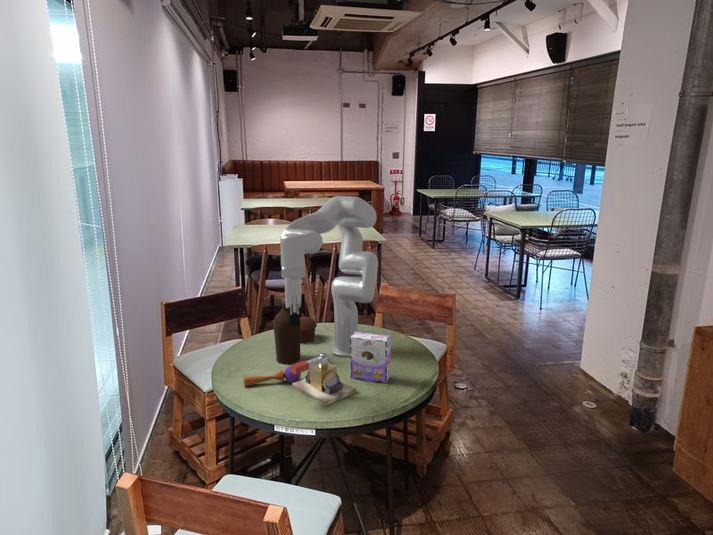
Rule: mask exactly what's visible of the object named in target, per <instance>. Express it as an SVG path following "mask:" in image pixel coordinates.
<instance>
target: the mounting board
mask: <svg viewBox="0 0 713 535" xmlns="http://www.w3.org/2000/svg"><path fill="white" fill-rule="evenodd" d="M340 382H342V383H343V389H342V390H340V391H338V392H335V393H333V394H331V395H328V394H326V392H325V391H323V392H321V391H319V390H317V389H315V388H313V387H311V385H310V384H308V383H306V382H305V377H304V378H303V379H299V380H298V381H296V382H293V383H291V387H292V388H293V389H294V390H296V391H297V392H300V393H301V394H303V395H305V396H306V397H308V398H309V399H312V400H313V399H314V400H313V401H315V400H316V401H315V402H317V403H318V402H319V403H318V404H320V403H321V404H320V405H322V404H323V405H322V406H324V407H326V405H327V406H329V405H331V404H333V403H336V402H337V400H338V401H340V400H342V399H344V398H346V397H349V396H350V395H352V394H355V393H356V392H357V387H356V386H353V385H351V384H349V383H348V382H346V381H344V380H341V379H340ZM354 392H355V393H354ZM349 394H350V395H349ZM345 396H346V397H345ZM343 397H344V398H343ZM341 398H342V399H341ZM339 399H340V400H339ZM330 403H331V404H330ZM328 404H329V405H328Z"/></svg>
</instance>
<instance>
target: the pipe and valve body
mask: <svg viewBox="0 0 713 535" xmlns="http://www.w3.org/2000/svg"><path fill="white" fill-rule="evenodd" d="M337 369H338V368H337V366H336V365H334V364H331V363H330V362H328V367H326V368H320V367H319V364H318V365H315V366H312V367H310V368H309V370H307V374H306V375H305V376H304V378H305V382H306V383H308V384H310V385H311V387H313V388H315V389H317V390H319V391H321V392H323V391H325V392H326V394H328V395H331V394H333V393H335V392H338V391H340V390H342V389H343V383H342V382H340V380H341V379H340V376H339V374H338V370H337Z"/></svg>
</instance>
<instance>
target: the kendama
mask: <svg viewBox="0 0 713 535" xmlns="http://www.w3.org/2000/svg"><path fill="white" fill-rule="evenodd" d="M290 366H291V365H289V366H287V367H286V368H285V369H284V370H283V369H281V370H279V371H278V372H276V373H275V374H274V375H262V376H244V377H243V385H244V387H249V386H250V387H251V386H252V385H253V386H254V385H257V384H260V383H264V382H268V381H270V380H278V381H281V382H285V381H287V382H289V383H291V384H292V383H295V382H297V381H299V380H300V378H301V376H302V372H301V373H298V374H296V375H295V374H294V373H292V372H290Z"/></svg>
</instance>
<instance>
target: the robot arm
mask: <svg viewBox="0 0 713 535" xmlns="http://www.w3.org/2000/svg"><path fill="white" fill-rule="evenodd" d="M377 218H378V216H377V211H376V210H375V208H374V207H373V206H372V205H371V204H370V203H368V202H367V201H366V200H365V199H362V198H361V197H358V196H350V195H349V196H348V195H346V196H345V195H336V196H335V195H334V196H333V197H331V198H330V199H328V200H327V201H326V202H325V203H324V204H323V205H322V206H321V207H320V208H319V209H318V210H317V211H316V212H313V213H310V214H307V215H305V216H301V217H299V218H297V219H295V220H293V221H292V222H290V223H289V224H288V225H287V226H286V227H285V228H284V229H283V231H282V233H281V235H280V238H279V242H280V244H279V245H280V267H281V268H280V269H281V270H280V272H281V278H283V279H284V295H285V296H284V297H285V298H284V299H285V301H286V308H288V307H290V326H299V325H300V317H301V316H300V310H299V309H300V308H301V307H302V278H305V276H306V273H305V272H306V271H305V269H306V267H305V255H306V254H314V253H317V252H318V251H320V250H321V247H322V246H323V236H322V235H321V234H326V233H330V232H331V231H333V230H334V229H335V228H336V227H337V226H338V228H339V231H340V235H341V245H340V249H339V250H340V252H339V258H338V270H339V271H341V272H342V273H344V274H350V275H358V276H359V275H360V276H362V278H359V277H353V276H337V277H335V278H334V279H333V280H332V282H331V287H330V288H331V295H332V296H331V297H332V300H333V301H332V302H333V309H334V310H333V312H334V315H333V316H334V318H333V319H334V321H333V322H334V344H333V345H332V346H331V348H330V350H331V351H330V352H331V353H332V354H333V355H335V356H337V357H341V358H342V357H348V358H349V357H350V337H351V336H352V335H353V334H354V332H359V324H358V321H359V320H358V316H359V312H358V308H357V304H356V303H362V304H370V303H371V302H372V300H373V299H374V296H375V292H376V285H377V279H378V278H377V277H378V272H379V271H378V270H379V269H378V268H379V261H378V256H377V254H376V253H374V252H371V251H367V250H366V251H364V250H363V243H364V242H363V241H364V239H363V235H362V233H361V231H360V228H363V229H371V228H373V227H374V225H375V224H376V222H377Z"/></svg>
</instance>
